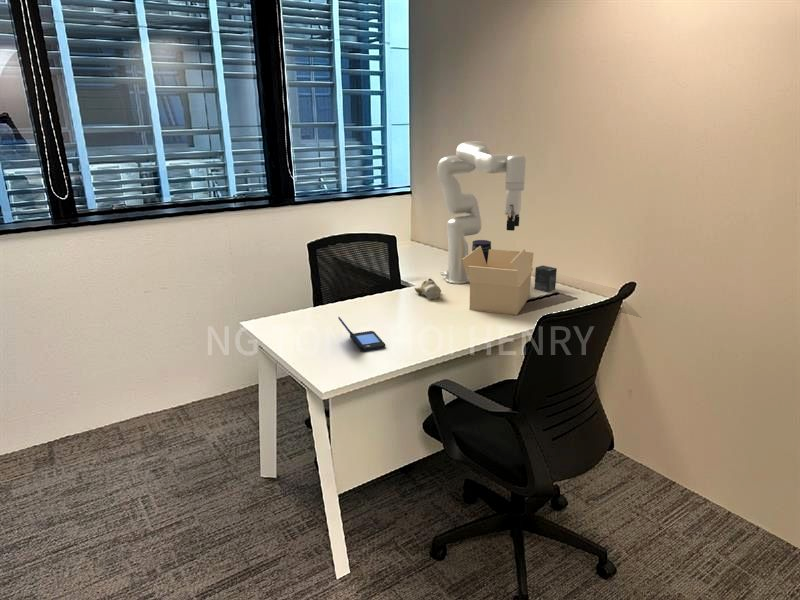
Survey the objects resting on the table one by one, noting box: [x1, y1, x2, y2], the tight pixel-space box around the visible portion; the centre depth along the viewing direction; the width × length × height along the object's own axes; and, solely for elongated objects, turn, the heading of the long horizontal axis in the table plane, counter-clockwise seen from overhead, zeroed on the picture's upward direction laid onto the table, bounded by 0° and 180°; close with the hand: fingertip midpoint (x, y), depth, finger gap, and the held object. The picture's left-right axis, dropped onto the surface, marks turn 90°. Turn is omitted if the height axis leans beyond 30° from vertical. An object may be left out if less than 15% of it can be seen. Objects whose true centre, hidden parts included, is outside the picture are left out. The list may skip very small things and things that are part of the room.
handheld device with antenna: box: [337, 316, 386, 353], centre depth 189 cm, size 16×13×9 cm
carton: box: [462, 246, 535, 316], centre depth 227 cm, size 24×32×22 cm
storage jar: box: [471, 239, 492, 264], centre depth 279 cm, size 10×10×15 cm
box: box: [534, 265, 558, 293], centre depth 244 cm, size 8×6×11 cm
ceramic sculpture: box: [414, 278, 442, 300], centre depth 239 cm, size 11×9×15 cm
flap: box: [510, 248, 534, 286], centre depth 221 cm, size 10×25×1 cm
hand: (512, 228), depth 221 cm, fingers open, 9 cm apart
